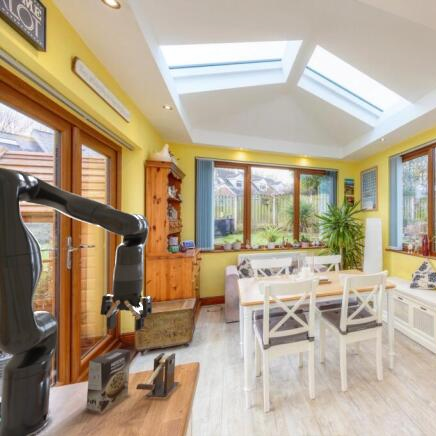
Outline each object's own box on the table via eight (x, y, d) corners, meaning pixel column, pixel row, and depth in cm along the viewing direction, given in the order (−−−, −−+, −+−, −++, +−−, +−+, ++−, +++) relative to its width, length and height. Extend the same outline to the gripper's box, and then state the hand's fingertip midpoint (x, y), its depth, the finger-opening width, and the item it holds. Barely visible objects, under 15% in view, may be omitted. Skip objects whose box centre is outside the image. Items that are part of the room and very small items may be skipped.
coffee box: (101, 415, 82) (104, 363, 82) (85, 411, 83) (87, 360, 83) (129, 396, 90) (131, 350, 91) (114, 393, 92) (116, 347, 92)
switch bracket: (165, 399, 90) (167, 362, 90) (145, 398, 90) (147, 361, 90) (179, 385, 98) (180, 351, 98) (160, 384, 98) (162, 350, 98)
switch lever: (152, 392, 84) (151, 386, 83) (137, 391, 84) (135, 385, 83) (174, 360, 95) (173, 355, 95) (160, 360, 95) (159, 355, 95)
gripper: (95, 278, 77) (91, 333, 77) (142, 281, 77) (139, 335, 77) (116, 273, 85) (112, 323, 85) (159, 276, 85) (156, 325, 85)
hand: (125, 329), depth 81 cm, fingers open, 8 cm apart
